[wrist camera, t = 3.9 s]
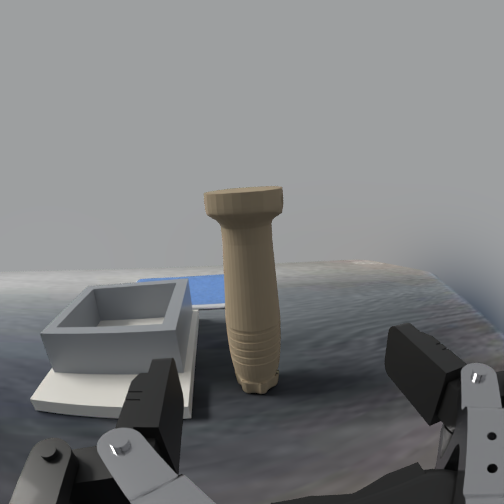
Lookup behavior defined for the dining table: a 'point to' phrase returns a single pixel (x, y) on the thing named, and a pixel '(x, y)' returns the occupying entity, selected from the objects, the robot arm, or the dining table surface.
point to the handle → (250, 281)
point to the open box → (117, 346)
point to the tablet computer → (202, 290)
